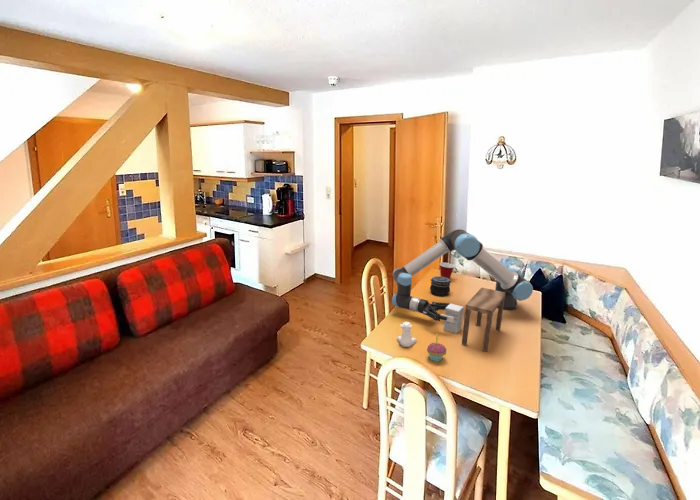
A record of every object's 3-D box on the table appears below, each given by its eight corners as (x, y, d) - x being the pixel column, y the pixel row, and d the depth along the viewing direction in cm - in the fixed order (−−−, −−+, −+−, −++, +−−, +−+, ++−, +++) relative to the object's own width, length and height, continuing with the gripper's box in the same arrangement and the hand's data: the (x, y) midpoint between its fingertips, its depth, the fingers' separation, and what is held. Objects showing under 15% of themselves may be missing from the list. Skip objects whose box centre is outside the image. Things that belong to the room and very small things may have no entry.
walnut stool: (461, 344, 184) (465, 304, 178) (477, 323, 206) (481, 287, 201) (486, 352, 178) (492, 311, 172) (500, 329, 200) (505, 292, 195)
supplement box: (447, 324, 205) (450, 302, 201) (461, 328, 201) (463, 306, 197) (442, 329, 199) (445, 307, 195) (456, 333, 195) (459, 311, 191)
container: (437, 288, 257) (438, 274, 254) (453, 293, 248) (455, 279, 245) (425, 292, 249) (426, 278, 246) (442, 298, 240) (443, 283, 237)
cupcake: (424, 354, 175) (426, 330, 172) (442, 353, 176) (444, 330, 173) (429, 364, 167) (431, 339, 164) (448, 363, 167) (451, 339, 164)
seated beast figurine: (416, 341, 186) (418, 318, 183) (415, 350, 178) (417, 326, 175) (397, 338, 188) (398, 316, 185) (395, 347, 180) (396, 324, 177)
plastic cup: (453, 283, 267) (455, 267, 264) (438, 282, 269) (439, 266, 266) (452, 278, 277) (454, 262, 274) (437, 277, 279) (439, 261, 276)
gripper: (427, 304, 219) (464, 313, 208) (409, 319, 198) (449, 331, 187) (428, 292, 217) (465, 300, 206) (410, 306, 196) (450, 317, 185)
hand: (457, 315), depth 196 cm, fingers open, 13 cm apart
